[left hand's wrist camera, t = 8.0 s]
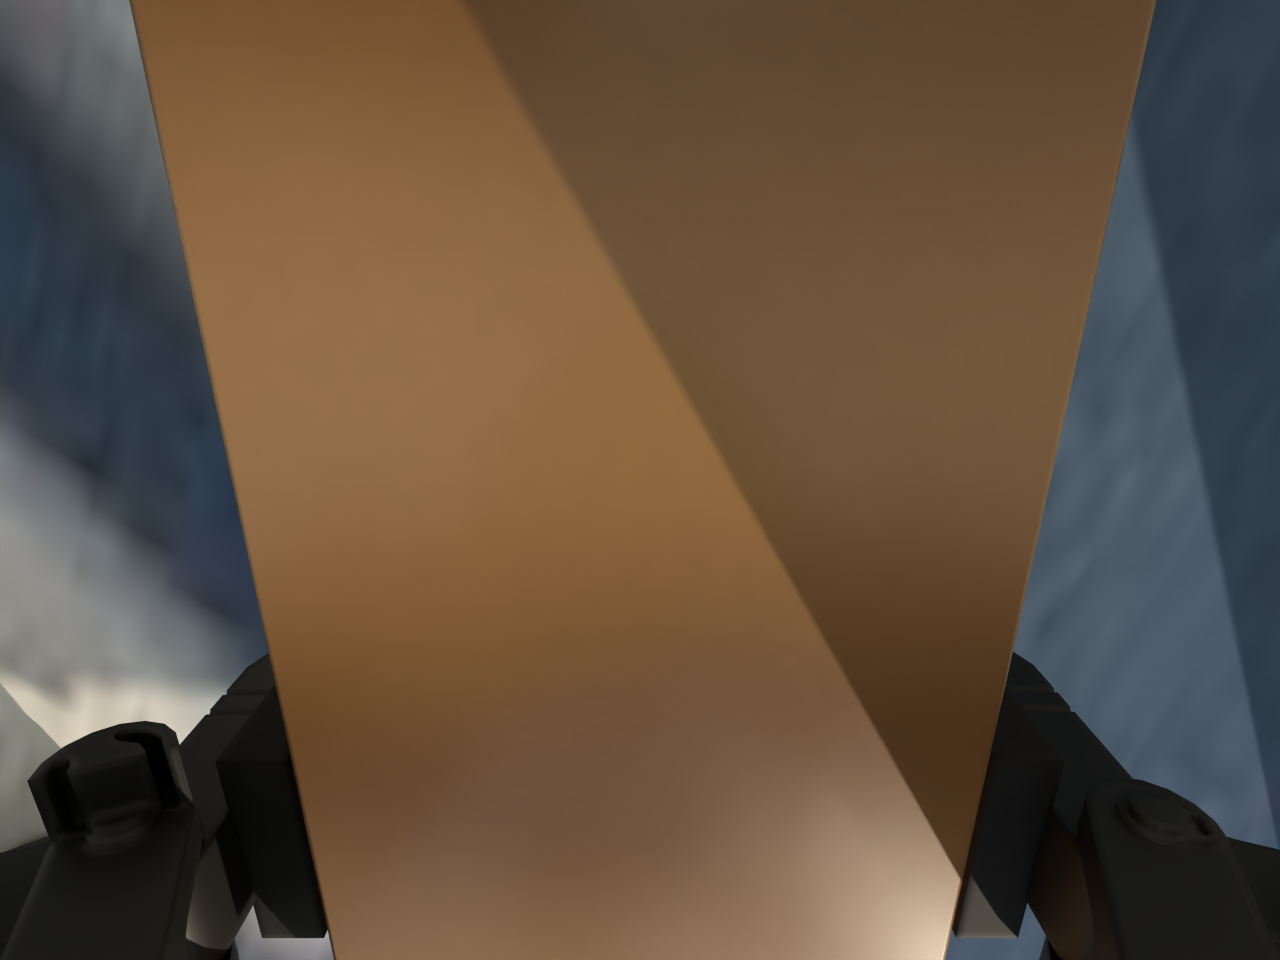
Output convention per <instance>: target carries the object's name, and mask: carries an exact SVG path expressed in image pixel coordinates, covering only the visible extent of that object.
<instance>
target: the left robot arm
mask: <svg viewBox="0 0 1280 960" xmlns="http://www.w3.org/2000/svg"><path fill="white" fill-rule="evenodd" d="M27 782H28V784H29V787H30V789H31V792H32V795H33V797H34V800H35V802H36V805H37V807H38V810H39V812H40V815H41V818H42V820H43V823H44V825H45V828H46V830H47V833H48V836H49V838H50V841H48V842H45V843H41V844H36V845H32V846H28V847H24V848H19V849H15V850H11V851H7V852H2V853H0V960H239V954H238V948H237V945H236V941H235V937H236V935H237V933H238V931H239V929H240V928H241V926H242V924H243V922H244V920H245V919H246V917H247V915H248V913H249V912H250V910H251V908H252V906H253V905H254V909H255V913H256V917H257V920H258V924H259V928H260V932H261V935H262V938H324V937H325V934H326V932H327V930H328V928H327V924H326V919H325V914H324V910H323V905H322V900H321V896H320V891H319V886H318V882H317V877H316V872H315V868H314V863H313V858H312V853H311V849H310V844H309V839H308V835H307V830H306V825H305V821H304V816H303V811H302V807H301V802H300V797H299V793H298V788H297V783H296V778H295V774H294V769H293V764H292V760H291V755H290V750H289V746H288V741H287V736H286V732H285V727H284V722H283V718H282V713H281V708H280V704H279V699H278V694H277V689H276V685H275V680H274V675H273V671H272V666H271V661H270V657H269V653H268V654H267V655H265V656H264V657H262V658H261V659H259V660H258V661H256V662H255V663H253V664H251V665H250V666H248V667H247V668H246V669H245V670H244V671H243V673H242V674H241V675H240V676H239V677H238V678H237V679H236V681H235V682H234V683H233V684H232V685H231V686H230V688H229V689H228V690H227V694H226V695H223V696H222V697H221V698H220V699H219V700H218V701H217V703H216V704H215V705H214V706H213V707H212V708H211V709H210V714H209V715H205V716H204V717H203V719H202V720H201V721H200V722H199V723H198V724H197V726H196V727H195V728H194V729H193V730H192V731H191V732H190V734H189V735H188V736H187V737H186V738H185V739H184V741H183V742H182V743H181V744H180V745H179V742H178V739H177V735H176V732H174V731H173V730H172V729H171V728H169V727H168V726H167V725H165V724H162V723H155V722H149V721H141V722H133V723H124V724H118V725H115V726H112V727H109V728H106V729H102V730H99V731H96V732H93V733H90V734H88V735H86V736H84V737H82V738H80V739H78V740H76V741H74V742H72V743H70V744H68V745H66V746H64V747H63V748H62V749H60V750H59V751H58V752H56V753H55V754H54V755H52V756H51V757H49V758H48V759H47V760H45V761H44V762H43V763H42V764H41V765H40V766H39V767H38V768H37V770H36V771H35V772H34V773H33V775H32V776H31V777H30V778H29V780H28V781H27ZM1027 903H1028V904H1029V906H1030V908H1031V910H1032V911H1033V913H1034V915H1035V917H1036V918H1037V920H1038V922H1039V924H1040V926H1041V927H1042V929H1043V931H1044V933H1045V934H1046V938H1045V941H1044V945H1043V948H1042V952H1041V955H1040V959H1039V960H1280V850H1278V849H1274V848H1270V847H1266V846H1261V845H1257V844H1253V843H1249V842H1244V841H1240V840H1236V839H1233V838H1229V837H1226V836H1225V834H1224V833H1223V831H1222V830H1221V828H1220V827H1219V826H1218V824H1217V823H1216V822H1215V821H1214V820H1213V819H1212V818H1211V817H1209V816H1208V815H1207V814H1206V813H1205V812H1204V811H1202V810H1201V809H1200V808H1199V807H1198V806H1196V805H1195V804H1194V803H1192V802H1190V801H1188V800H1187V799H1185V798H1183V797H1181V796H1179V795H1178V794H1176V793H1174V792H1172V791H1170V790H1169V789H1166V788H1163V787H1160V786H1157V785H1154V784H1151V783H1149V782H1146V781H1143V780H1137V779H1133V778H1132V777H1131V776H1130V775H1129V774H1128V773H1127V771H1126V770H1125V769H1124V768H1123V767H1122V766H1121V765H1120V763H1119V762H1118V761H1117V760H1116V759H1115V758H1114V757H1113V755H1112V754H1111V753H1110V752H1109V751H1108V750H1107V749H1106V747H1105V746H1104V745H1103V744H1102V743H1101V742H1100V741H1099V739H1098V738H1097V737H1096V736H1095V735H1094V734H1093V733H1092V731H1091V730H1090V729H1089V728H1088V727H1087V726H1086V725H1085V723H1084V722H1083V721H1082V720H1081V719H1080V718H1079V717H1078V715H1077V714H1076V713H1075V712H1071V710H1070V706H1069V705H1068V704H1067V703H1066V702H1065V700H1064V699H1063V698H1062V697H1061V696H1060V695H1059V694H1058V693H1054V688H1053V687H1052V686H1051V684H1050V683H1049V682H1048V681H1047V680H1046V679H1045V678H1044V676H1043V675H1042V674H1041V673H1040V672H1039V671H1038V670H1037V668H1036V667H1035V666H1034V665H1033V664H1031V663H1030V662H1028V661H1026V660H1025V659H1023V658H1022V657H1020V656H1019V655H1017V654H1016V653H1014V652H1013V653H1012V657H1011V662H1010V667H1009V671H1008V676H1007V680H1006V685H1005V689H1004V694H1003V698H1002V703H1001V707H1000V712H999V716H998V721H997V725H996V730H995V735H994V739H993V744H992V748H991V753H990V757H989V762H988V766H987V771H986V775H985V780H984V784H983V789H982V793H981V798H980V803H979V807H978V812H977V816H976V821H975V825H974V830H973V834H972V839H971V843H970V848H969V852H968V857H967V862H966V866H965V871H964V875H963V880H962V884H961V889H960V893H959V898H958V902H957V907H956V911H955V916H954V920H953V925H952V930H953V932H954V934H955V936H956V938H1018V935H1019V932H1020V928H1021V924H1022V920H1023V917H1024V913H1025V909H1026V905H1027Z"/></svg>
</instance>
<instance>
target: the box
mask: <svg viewBox="0 0 1280 960" xmlns="http://www.w3.org/2000/svg"><path fill="white" fill-rule="evenodd" d="M129 1H130V5H131V10H132V15H133V19H134V24H135V29H136V33H137V38H138V43H139V48H140V52H141V57H142V62H143V66H144V71H145V76H146V80H147V85H148V90H149V94H150V99H151V104H152V108H153V113H154V118H155V122H156V127H157V132H158V137H159V141H160V146H161V151H162V155H163V160H164V165H165V169H166V174H167V179H168V183H169V188H170V193H171V197H172V202H173V207H174V212H175V216H176V221H177V226H178V230H179V235H180V240H181V244H182V249H183V254H184V258H185V263H186V268H187V272H188V277H189V282H190V286H191V291H192V296H193V301H194V305H195V310H196V315H197V319H198V324H199V329H200V333H201V338H202V343H203V347H204V352H205V357H206V361H207V366H208V371H209V376H210V380H211V385H212V390H213V394H214V399H215V404H216V408H217V413H218V418H219V422H220V427H221V432H222V436H223V441H224V446H225V450H226V455H227V460H228V465H229V469H230V474H231V479H232V483H233V488H234V493H235V497H236V502H237V507H238V511H239V516H240V521H241V525H242V530H243V535H244V540H245V544H246V549H247V554H248V558H249V563H250V568H251V572H252V577H253V582H254V586H255V591H256V596H257V600H258V605H259V610H260V614H261V619H262V624H263V629H264V633H265V638H266V643H267V647H268V652H269V657H270V661H271V666H272V671H273V675H274V680H275V685H276V689H277V694H278V699H279V704H280V708H281V713H282V718H283V722H284V727H285V732H286V736H287V741H288V746H289V750H290V755H291V760H292V764H293V769H294V774H295V778H296V783H297V788H298V793H299V797H300V802H301V807H302V811H303V816H304V821H305V825H306V830H307V835H308V839H309V844H310V849H311V853H312V858H313V863H314V868H315V872H316V877H317V882H318V886H319V891H320V896H321V900H322V905H323V910H324V914H325V919H326V924H327V928H328V933H329V938H330V942H331V947H332V952H333V957H334V960H945V957H946V952H947V948H948V943H949V939H950V934H951V930H952V925H953V920H954V916H955V911H956V907H957V902H958V898H959V893H960V889H961V884H962V880H963V875H964V871H965V866H966V862H967V857H968V852H969V848H970V843H971V839H972V834H973V830H974V825H975V821H976V816H977V812H978V807H979V803H980V798H981V793H982V789H983V784H984V780H985V775H986V771H987V766H988V762H989V757H990V753H991V748H992V744H993V739H994V735H995V730H996V725H997V721H998V716H999V712H1000V707H1001V703H1002V698H1003V694H1004V689H1005V685H1006V680H1007V676H1008V671H1009V667H1010V662H1011V657H1012V653H1013V648H1014V644H1015V639H1016V635H1017V630H1018V626H1019V621H1020V617H1021V612H1022V608H1023V603H1024V599H1025V594H1026V589H1027V585H1028V580H1029V576H1030V571H1031V567H1032V562H1033V558H1034V553H1035V549H1036V544H1037V540H1038V535H1039V530H1040V526H1041V521H1042V517H1043V512H1044V508H1045V503H1046V499H1047V494H1048V490H1049V485H1050V481H1051V476H1052V472H1053V467H1054V462H1055V458H1056V453H1057V449H1058V444H1059V440H1060V435H1061V431H1062V426H1063V422H1064V417H1065V413H1066V408H1067V404H1068V399H1069V394H1070V390H1071V385H1072V381H1073V376H1074V372H1075V367H1076V363H1077V358H1078V354H1079V349H1080V345H1081V340H1082V336H1083V331H1084V326H1085V322H1086V317H1087V313H1088V308H1089V304H1090V299H1091V295H1092V290H1093V286H1094V281H1095V277H1096V272H1097V267H1098V263H1099V258H1100V254H1101V249H1102V245H1103V240H1104V236H1105V231H1106V227H1107V222H1108V218H1109V213H1110V209H1111V204H1112V199H1113V195H1114V190H1115V186H1116V181H1117V177H1118V172H1119V168H1120V163H1121V159H1122V154H1123V150H1124V145H1125V141H1126V136H1127V131H1128V127H1129V122H1130V118H1131V113H1132V109H1133V104H1134V100H1135V95H1136V91H1137V86H1138V82H1139V77H1140V73H1141V68H1142V63H1143V59H1144V54H1145V50H1146V45H1147V41H1148V36H1149V32H1150V27H1151V23H1152V18H1153V14H1154V9H1155V4H1156V0H129Z"/></svg>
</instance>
